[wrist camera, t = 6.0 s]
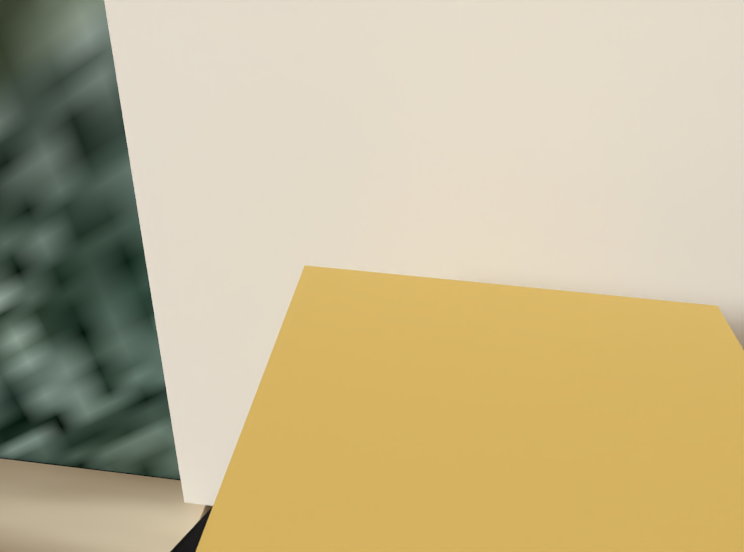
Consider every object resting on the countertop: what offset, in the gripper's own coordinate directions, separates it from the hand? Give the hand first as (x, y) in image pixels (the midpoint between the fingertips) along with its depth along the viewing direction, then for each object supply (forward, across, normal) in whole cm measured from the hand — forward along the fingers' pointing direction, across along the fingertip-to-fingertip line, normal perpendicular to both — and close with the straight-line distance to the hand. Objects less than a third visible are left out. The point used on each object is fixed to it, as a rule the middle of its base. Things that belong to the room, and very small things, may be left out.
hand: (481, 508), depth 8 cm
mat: (+5, 0, 0) cm, 5 cm away
